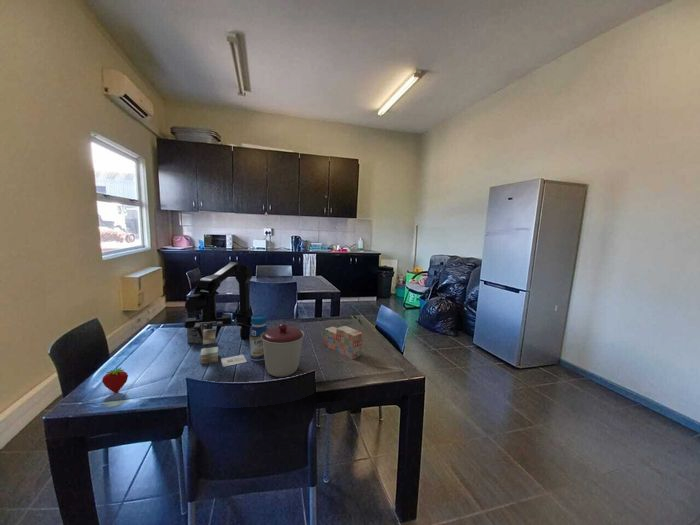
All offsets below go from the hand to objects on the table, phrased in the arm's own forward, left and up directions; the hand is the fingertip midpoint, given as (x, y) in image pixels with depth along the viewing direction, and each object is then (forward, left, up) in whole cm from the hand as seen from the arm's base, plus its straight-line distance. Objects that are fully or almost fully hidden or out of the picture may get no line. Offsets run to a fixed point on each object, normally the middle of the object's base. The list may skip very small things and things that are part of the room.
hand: (209, 339), depth 131 cm
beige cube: (0, 0, -1) cm, 1 cm away
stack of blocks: (-61, +11, -10) cm, 63 cm away
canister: (-29, +21, -10) cm, 37 cm away
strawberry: (+30, +17, -10) cm, 36 cm away
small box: (+5, -22, -10) cm, 25 cm away
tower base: (0, 0, -10) cm, 10 cm away
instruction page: (-10, +5, -10) cm, 15 cm away
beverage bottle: (-21, +5, -10) cm, 24 cm away
